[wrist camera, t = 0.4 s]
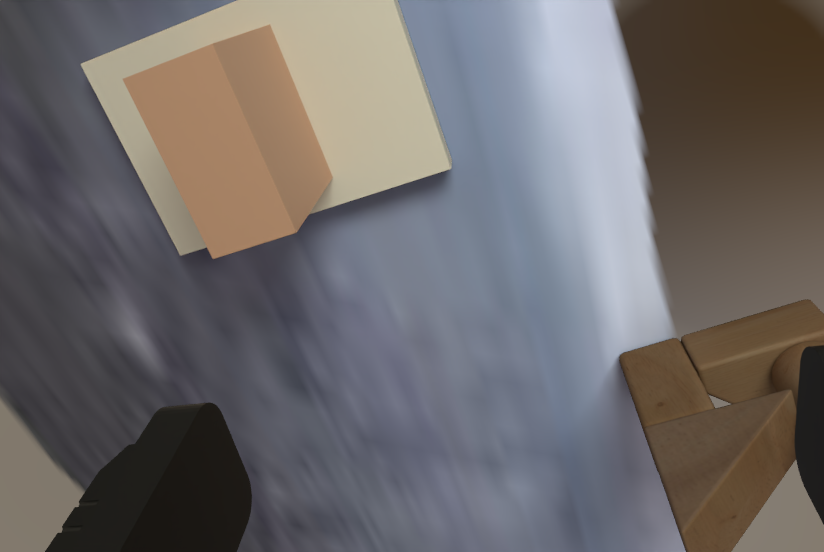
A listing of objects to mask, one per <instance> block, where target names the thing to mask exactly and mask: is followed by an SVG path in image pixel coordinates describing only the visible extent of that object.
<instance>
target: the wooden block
mask: <svg viewBox="0 0 824 552" xmlns="http://www.w3.org/2000/svg"><path fill="white" fill-rule="evenodd" d="M820 345H824V314H823V313H822V312H821V311H820V310H819V309H818V308H817V307H816V305H815V304H814V303H813V302H811V300H801V301H798V302H795V303H792V304H788V305H785V306H781V307H778V308H775V309H771V310H768V311H764V312H761V313H758V314H754V315H751V316H747V317H744V318H741V319H738V320H734V321H731V322H727V323H724V324H721V325H717V326H714V327H711V328H707V329H704V330H700V331H697V332H694V333H690V334H687V335H684V336H683V337H682V339H681V342H680V341H679V340H678V339H677V338H672V339H669V340H665V341H662V342H659V343H655V344H652V345H649V346H645V347H642V348H638V349H635V350H632V351H628V352H625V353H623V354H621V355H620V359H619V361H620V364H621V367H622V370H623V373H624V376H625V379H626V382H627V384H628V387H629V390H630V393H631V396H632V399H633V402H634V405H635V408H636V411H637V414H638V416H639V419H640V422H641V425H642V428H643V431H644V434H645V437H646V440H647V442H648V445H649V448H650V451H651V454H652V457H653V460H654V462H655V465H656V468H657V471H658V472H659V475H660V478H661V481H662V484H663V486H664V489H665V492H666V495H667V498H668V501H669V504H670V507H671V510H672V513H673V515H674V518H675V521H676V524H677V527H678V530H679V533H680V536H681V539H682V541H683V544H684V547H685V550H686V552H731V551H732V550H733V548H734V547H735V545H736V544H737V543H738V541H739V540H740V538H741V537H742V535H743V534H744V533H745V531H746V530H747V528H748V527H749V525H750V524H751V522H752V521H753V520H754V518H755V517H756V515H757V514H758V513H759V511H760V510H761V508H762V507H763V505H764V504H765V502H766V501H767V500H768V498H769V497H770V495H771V494H772V492H773V491H774V490H775V488H776V487H777V485H778V484H779V482H780V481H781V480H782V478H783V477H784V475H785V474H786V472H787V471H788V469H789V468H790V467H791V465H792V464H793V462H794V461H795V460H796V454H795V425H796V412H797V398H798V385H799V371H800V360H801V355H802V352H803V350H804V349H805V348H806V347H810V346H820ZM708 394H709V395H711V396H714V397H716V398H719V399H721V400H723V401H726V402H728V403H731V405H728V406H724V407H720V408H716V409H715V407H714V405H713V403H712V401H711V399H710V397H709V395H708Z"/></svg>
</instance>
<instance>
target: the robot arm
mask: <svg viewBox="0 0 824 552" xmlns="http://www.w3.org/2000/svg"><path fill="white" fill-rule="evenodd" d="M795 454H796V460H797V465H798V468H799V472H800V476H801V479H802V482H803V484H804V487H805V489H806V491H807V493H808V495H809V497H810V499H811V501H812V503H813V505H814V507H815V508H816V510H817V512H818V514H819V516H820V518H821V520H822V522H823V524H824V345H820V346H810V347H806V348H805V349H804V350H803V352H802V355H801V360H800V371H799V385H798V398H797V412H796V425H795ZM79 503H80V505H79V507H75V508H74V510H73V511H72V512H71V514H70V515H69V517H68V518H67V520H66V521H65V523H64V524H63V526H62V528H63V530H62V533H57V535H56V537H55V538H54V539H53V541H52V542H51V544H50V545H49V547H48V548H47V550H46V551H45V552H237V549H238V547H239V544H240V542H241V539H242V536H243V534H244V531H245V529H246V526H247V523H248V520H249V517H250V512H251V503H252V494H251V485H250V481H249V478H248V475H247V472H246V470H245V468H244V465H243V463H242V460H241V458H240V456H239V453H238V451H237V448H236V446H235V444H234V441H233V439H232V436H231V434H230V432H229V429H228V427H227V424H226V422H225V420H224V417H223V415H222V413H221V411H220V409H219V408H218V407H217V406H216V405H215V404H213V403H200V404H190V405H180V406H169V407H162V408H160V409H159V410H158V411H157V412H156V413H155V414H154V416H153V417H152V419H151V420H150V422H149V423H148V425H147V426H146V428H145V430H144V431H143V433H142V434H141V436H140V437H139V439H138V440H137V442H136V444H132V445H128V446H127V447H126V448H125V449H124V450H123V451H121V452H120V453H119V454H118V455H117V456H116V457H115V458H114V459H113V460H111V461H110V462H109V463H108V464H107V465H106V466H105V467H104V468H102V469H101V470H100V471H99V472H98V474H97V475H96V477H95V478H94V480H93V481H92V483H91V484H90V486H89V487H88V489H87V490H86V492H85V493H84V495H83V496H82V498H81V499H80V501H79Z"/></svg>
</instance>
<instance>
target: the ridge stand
mask: <svg viewBox="0 0 824 552" xmlns="http://www.w3.org/2000/svg"><path fill="white" fill-rule="evenodd" d="M80 65H81V66H82V68H83V70H84V72H85V74H86V76H87V78H88V80H89V82H90V84H91V86H92V88H93V89H94V91H95V93H96V95H97V97H98V99H99V101H100V103H101V105H102V107H103V109H104V110H105V112H106V114H107V116H108V118H109V120H110V122H111V124H112V126H113V128H114V130H115V132H116V133H117V135H118V137H119V139H120V141H121V143H122V145H123V147H124V149H125V151H126V153H127V155H128V156H129V158H130V160H131V162H132V164H133V166H134V168H135V170H136V172H137V174H138V176H139V178H140V179H141V181H142V183H143V185H144V187H145V189H146V191H147V193H148V195H149V197H150V199H151V201H152V202H153V204H154V206H155V208H156V210H157V212H158V214H159V216H160V218H161V220H162V222H163V224H164V225H165V227H166V229H167V231H168V233H169V235H170V237H171V239H172V241H173V243H174V245H175V247H176V248H177V250H178V252H179V254H180V256H181V255H184V254H188V253H191V252H194V251H197V250H200V249H203V248H206V247H207V248H208V250H209V252H210V254H211V256H212V258H213V259H215V258H218V257H221V256H224V255H228V254H231V253H234V252H237V251H240V250H243V249H247V248H250V247H253V246H256V245H259V244H262V243H265V242H269V241H272V240H275V239H278V238H281V237H284V236H288V235H291V234H294V233H297V231H298V230H299V228H300V227H301V225H302V224H303V222H304V221H305V219H306V218H307V216H308V215H309V214H312V213H315V212H318V211H321V210H324V209H328V208H331V207H334V206H337V205H340V204H343V203H346V202H349V201H352V200H356V199H359V198H362V197H365V196H368V195H371V194H374V193H377V192H380V191H384V190H387V189H390V188H393V187H396V186H399V185H402V184H405V183H408V182H412V181H415V180H418V179H421V178H424V177H427V176H430V175H433V174H436V173H440V172H443V171H446V170H449V169H451V166H452V159H451V156H450V153H449V150H448V147H447V144H446V141H445V139H444V136H443V133H442V130H441V127H440V124H439V121H438V118H437V115H436V112H435V109H434V106H433V103H432V100H431V97H430V94H429V91H428V88H427V86H426V83H425V80H424V77H423V74H422V71H421V68H420V65H419V62H418V59H417V56H416V53H415V50H414V47H413V44H412V41H411V38H410V36H409V33H408V30H407V27H406V24H405V21H404V18H403V15H402V12H401V9H400V6H399V3H398V0H237V1H235V2H232V3H230V4H227V5H225V6H223V7H220V8H218V9H215V10H213V11H210V12H208V13H205V14H203V15H200V16H198V17H195V18H193V19H190V20H188V21H185V22H183V23H180V24H178V25H176V26H173V27H171V28H168V29H166V30H163V31H161V32H158V33H156V34H153V35H151V36H148V37H146V38H143V39H141V40H138V41H136V42H134V43H131V44H129V45H126V46H124V47H121V48H119V49H116V50H114V51H111V52H109V53H106V54H104V55H101V56H99V57H96V58H94V59H91V60H89V61H87V62H84V63H82V64H80Z"/></svg>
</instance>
